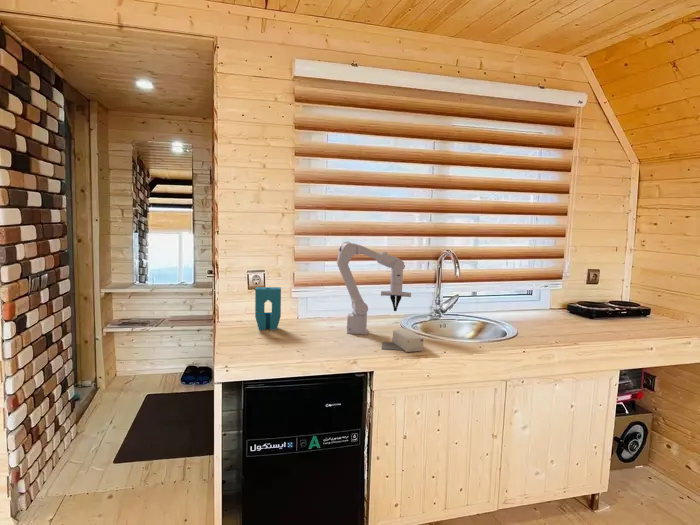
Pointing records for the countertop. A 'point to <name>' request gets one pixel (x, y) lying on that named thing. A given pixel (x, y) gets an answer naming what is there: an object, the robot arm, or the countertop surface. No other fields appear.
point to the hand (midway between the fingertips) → (395, 310)
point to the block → (261, 297)
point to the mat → (391, 346)
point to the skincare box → (408, 340)
